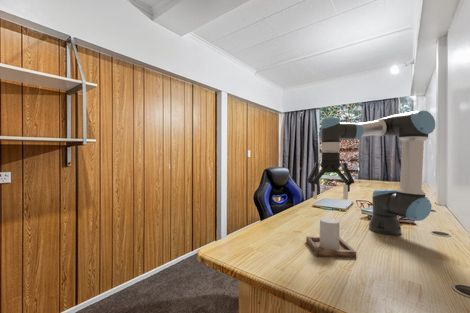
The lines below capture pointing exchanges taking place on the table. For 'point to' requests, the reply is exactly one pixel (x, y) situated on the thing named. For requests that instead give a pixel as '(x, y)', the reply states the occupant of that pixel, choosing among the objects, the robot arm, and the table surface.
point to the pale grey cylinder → (329, 233)
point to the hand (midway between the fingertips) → (330, 199)
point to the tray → (343, 250)
